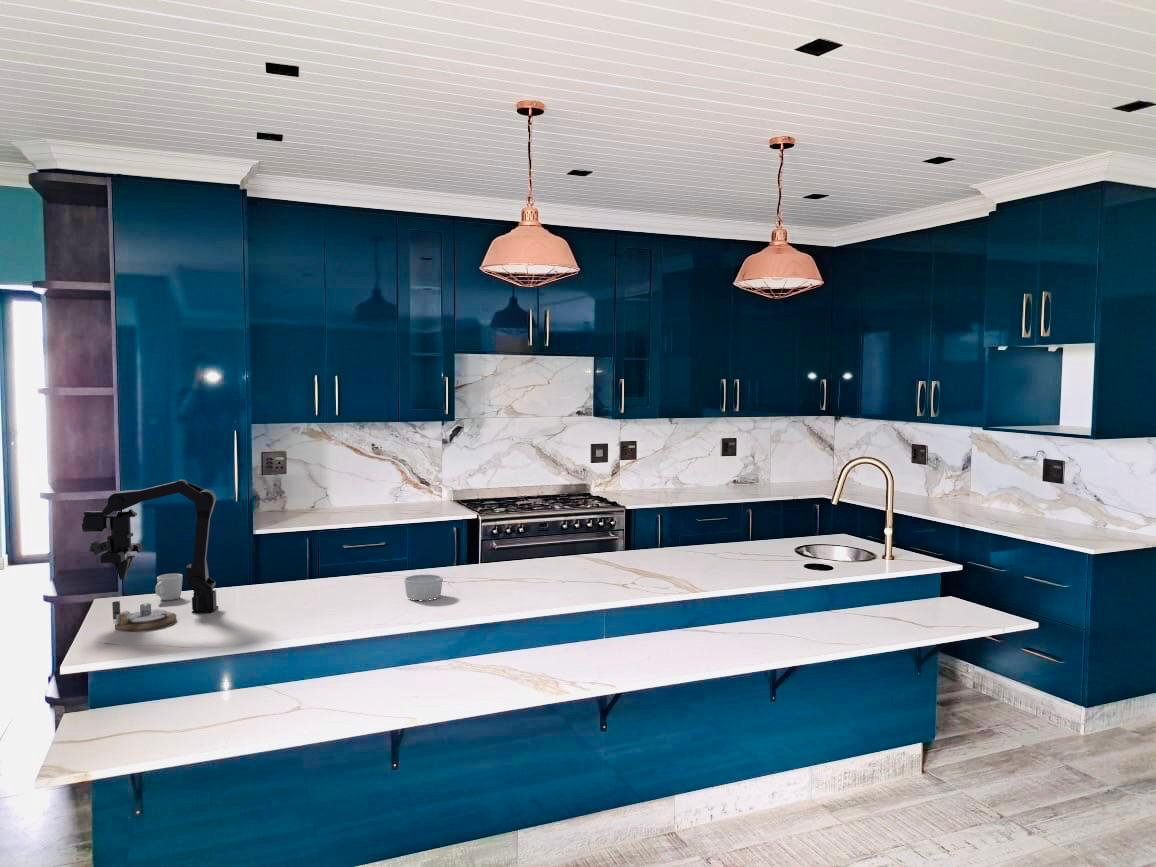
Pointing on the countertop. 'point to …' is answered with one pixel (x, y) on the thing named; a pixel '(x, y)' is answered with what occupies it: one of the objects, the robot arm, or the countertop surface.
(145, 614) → the light grey irregular piece
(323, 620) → the countertop surface
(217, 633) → the countertop surface
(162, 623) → the plinth
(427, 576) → the ramekin
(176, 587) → the cup
